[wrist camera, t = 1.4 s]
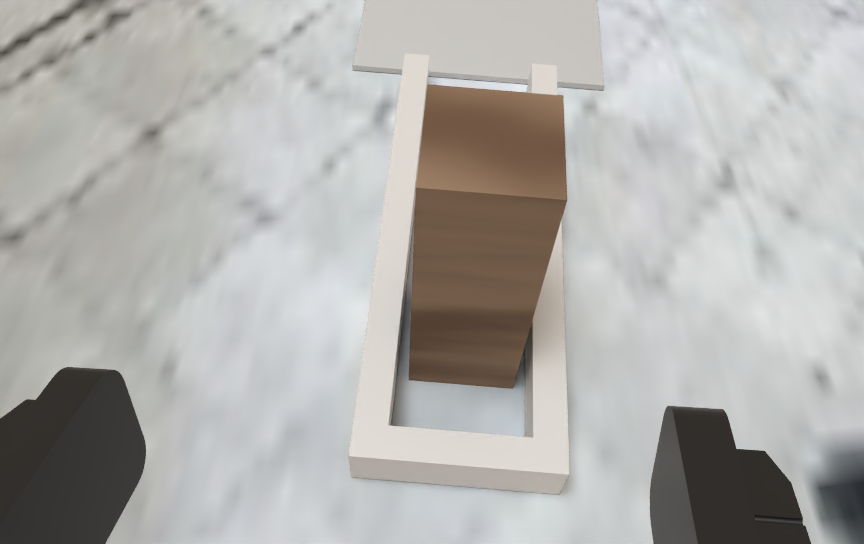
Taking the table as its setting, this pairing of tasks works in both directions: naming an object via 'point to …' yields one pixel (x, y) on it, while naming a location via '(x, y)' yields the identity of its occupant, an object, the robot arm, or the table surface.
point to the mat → (484, 39)
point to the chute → (372, 432)
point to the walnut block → (483, 230)
